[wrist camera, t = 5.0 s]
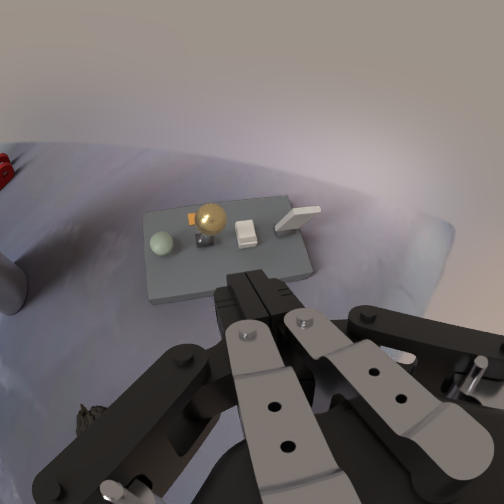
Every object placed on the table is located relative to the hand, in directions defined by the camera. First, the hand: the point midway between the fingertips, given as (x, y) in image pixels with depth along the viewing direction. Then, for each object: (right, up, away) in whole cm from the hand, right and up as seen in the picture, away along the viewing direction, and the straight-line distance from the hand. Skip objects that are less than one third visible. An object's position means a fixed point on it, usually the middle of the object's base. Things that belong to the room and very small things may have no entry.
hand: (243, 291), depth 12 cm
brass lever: (-6, +3, +27) cm, 28 cm away
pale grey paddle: (+5, +5, +29) cm, 30 cm away
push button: (-12, +2, +27) cm, 29 cm away
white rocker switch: (-1, +4, +28) cm, 28 cm away
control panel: (-4, +2, +31) cm, 32 cm away
